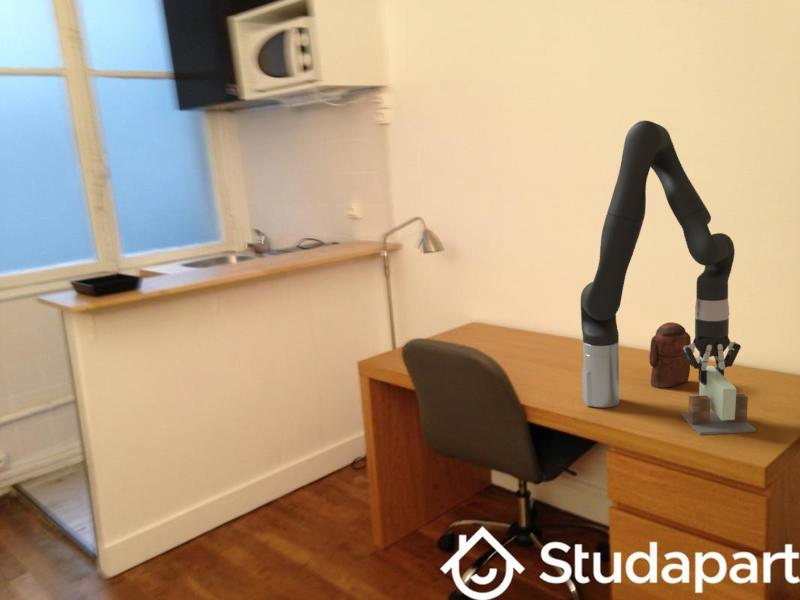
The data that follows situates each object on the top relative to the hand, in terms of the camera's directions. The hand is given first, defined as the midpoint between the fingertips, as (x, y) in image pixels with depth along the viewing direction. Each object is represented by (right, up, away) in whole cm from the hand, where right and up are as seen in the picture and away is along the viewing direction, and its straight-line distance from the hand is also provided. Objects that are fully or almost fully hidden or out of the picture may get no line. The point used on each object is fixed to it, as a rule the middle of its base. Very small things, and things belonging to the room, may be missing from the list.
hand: (710, 383), depth 172 cm
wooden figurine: (0, -4, +28) cm, 28 cm away
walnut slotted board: (0, -10, -3) cm, 10 cm away
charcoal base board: (0, -10, -3) cm, 10 cm away
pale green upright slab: (0, -6, -2) cm, 6 cm away
